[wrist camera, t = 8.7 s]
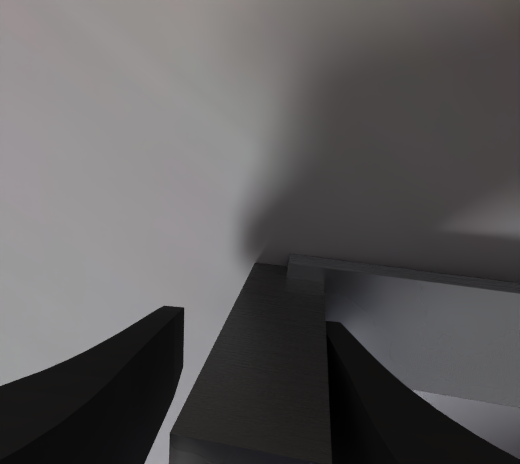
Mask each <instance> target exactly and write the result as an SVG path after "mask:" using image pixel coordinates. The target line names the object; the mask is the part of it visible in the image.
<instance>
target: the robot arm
mask: <svg viewBox="0 0 520 464" xmlns="http://www.w3.org/2000/svg"><path fill="white" fill-rule="evenodd" d="M326 340H327V363H328V385H329V408H330V431H331V454H332V464H520V459H518V458H516V457H514V456H512V455H510V454H509V453H507V452H505V451H503V450H501V449H499V448H498V447H496V446H494V445H492V444H491V443H489V442H487V441H486V440H484V439H482V438H480V437H479V436H477V435H476V434H474V433H472V432H471V431H469V430H468V429H466V428H464V427H463V426H461V425H460V424H458V423H457V422H455V421H453V420H452V419H450V418H449V417H447V416H446V415H444V414H443V413H442V412H440V411H439V410H437V409H436V408H434V407H433V406H432V405H430V404H429V403H428V402H426V401H425V400H424V399H422V398H421V397H420V396H418V395H417V394H416V393H414V392H413V391H412V390H411V389H409V388H408V387H407V386H406V385H404V384H403V383H402V382H401V381H400V380H399V379H398V378H396V377H395V376H394V375H393V374H392V373H391V372H390V371H388V370H387V369H386V368H385V367H384V366H383V365H382V364H381V363H380V362H379V361H378V360H377V359H376V358H375V357H374V356H373V355H372V354H371V353H370V352H369V351H368V350H367V349H366V348H365V347H364V346H363V345H362V344H361V343H360V342H359V341H358V340H357V339H356V338H355V337H354V336H353V335H352V334H351V333H350V332H349V331H348V330H347V328H346V327H345V326H344V325H343V324H342V323H341V322H334V321H326ZM183 347H184V308H182V307H172V306H163V307H161V308H159V309H157V310H156V311H154V312H152V313H151V314H149V315H147V316H146V317H144V318H143V319H141V320H139V321H138V322H136V323H135V324H133V325H131V326H130V327H128V328H126V329H125V330H123V331H121V332H120V333H118V334H116V335H115V336H113V337H111V338H109V339H107V340H105V341H104V342H102V343H100V344H98V345H96V346H94V347H93V348H91V349H89V350H87V351H85V352H83V353H81V354H79V355H77V356H75V357H73V358H71V359H69V360H66V361H64V362H62V363H59V364H57V365H55V366H53V367H50V368H48V369H45V370H43V371H41V372H38V373H35V374H32V375H30V376H27V377H24V378H21V379H19V380H16V381H13V382H10V383H8V384H5V385H2V386H0V464H144V463H145V461H146V459H147V456H148V454H149V452H150V450H151V447H152V445H153V443H154V441H155V439H156V436H157V434H158V432H159V430H160V427H161V425H162V423H163V421H164V418H165V416H166V414H167V412H168V409H169V407H170V405H171V403H172V400H173V398H174V395H175V392H176V389H177V386H178V382H179V379H180V375H181V372H182V369H183Z"/></svg>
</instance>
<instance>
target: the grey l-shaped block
mask: <svg viewBox="0 0 520 464" xmlns="http://www.w3.org/2000/svg"><path fill="white" fill-rule="evenodd" d="M326 321H334V322H341V323H342V324H343V325H344V326H345V327H346V328H347V330H348V331H349V332H350V333H351V334H352V335H353V336H354V337H355V338H356V339H357V340H358V341H359V342H360V343H361V344H362V345H363V346H364V347H365V348H366V349H367V350H368V351H369V352H370V353H371V354H372V355H373V356H374V357H375V358H376V359H377V360H378V361H379V362H380V363H381V364H382V365H383V366H384V367H385V368H386V369H387V370H388V371H390V372H391V373H392V374H393V375H394V376H395V377H396V378H398V379H399V380H400V381H401V382H402V383H403V384H404V385H406V386H407V387H408V388H409V389H412V390H418V391H424V392H430V393H436V394H442V395H448V396H454V397H460V398H466V399H472V400H478V401H484V402H490V403H496V404H501V405H507V406H513V407H519V408H520V283H513V282H505V281H497V280H489V279H482V278H474V277H466V276H458V275H450V274H442V273H434V272H427V271H419V270H411V269H403V268H395V267H387V266H380V265H372V264H364V263H356V262H348V261H340V260H332V259H325V258H317V257H309V256H301V255H293V254H290V258H289V262H288V267H284V266H277V265H269V264H261V263H255V264H254V266H253V268H252V270H251V272H250V274H249V276H248V278H247V280H246V282H245V284H244V286H243V288H242V290H241V292H240V294H239V296H238V298H237V300H236V302H235V304H234V306H233V308H232V310H231V312H230V314H229V316H228V318H227V320H226V322H225V324H224V326H223V328H222V330H221V332H220V334H219V336H218V338H217V340H216V342H215V344H214V346H213V348H212V350H211V352H210V354H209V356H208V358H207V360H206V362H205V364H204V366H203V368H202V370H201V372H200V374H199V376H198V378H197V380H196V382H195V384H194V386H193V388H192V390H191V392H190V394H189V396H188V398H187V400H186V402H185V404H184V406H183V408H182V410H181V412H180V414H179V416H178V418H177V420H176V422H175V424H174V426H173V428H172V430H171V432H170V449H169V464H332V454H331V431H330V408H329V385H328V363H327V340H326Z"/></svg>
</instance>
